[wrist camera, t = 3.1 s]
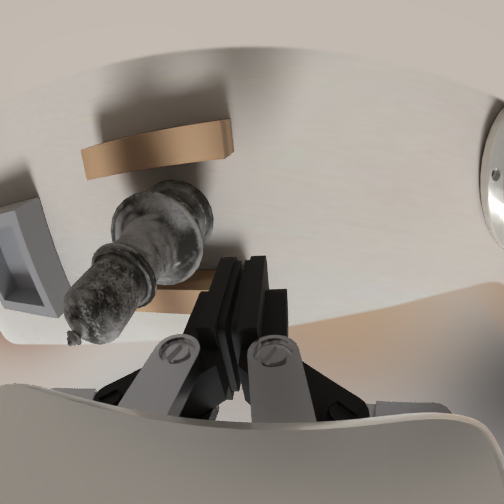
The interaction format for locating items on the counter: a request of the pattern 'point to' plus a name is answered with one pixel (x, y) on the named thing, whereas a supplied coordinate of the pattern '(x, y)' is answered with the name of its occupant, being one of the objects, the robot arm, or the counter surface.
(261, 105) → the counter surface
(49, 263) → the square tray
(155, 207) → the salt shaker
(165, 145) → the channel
